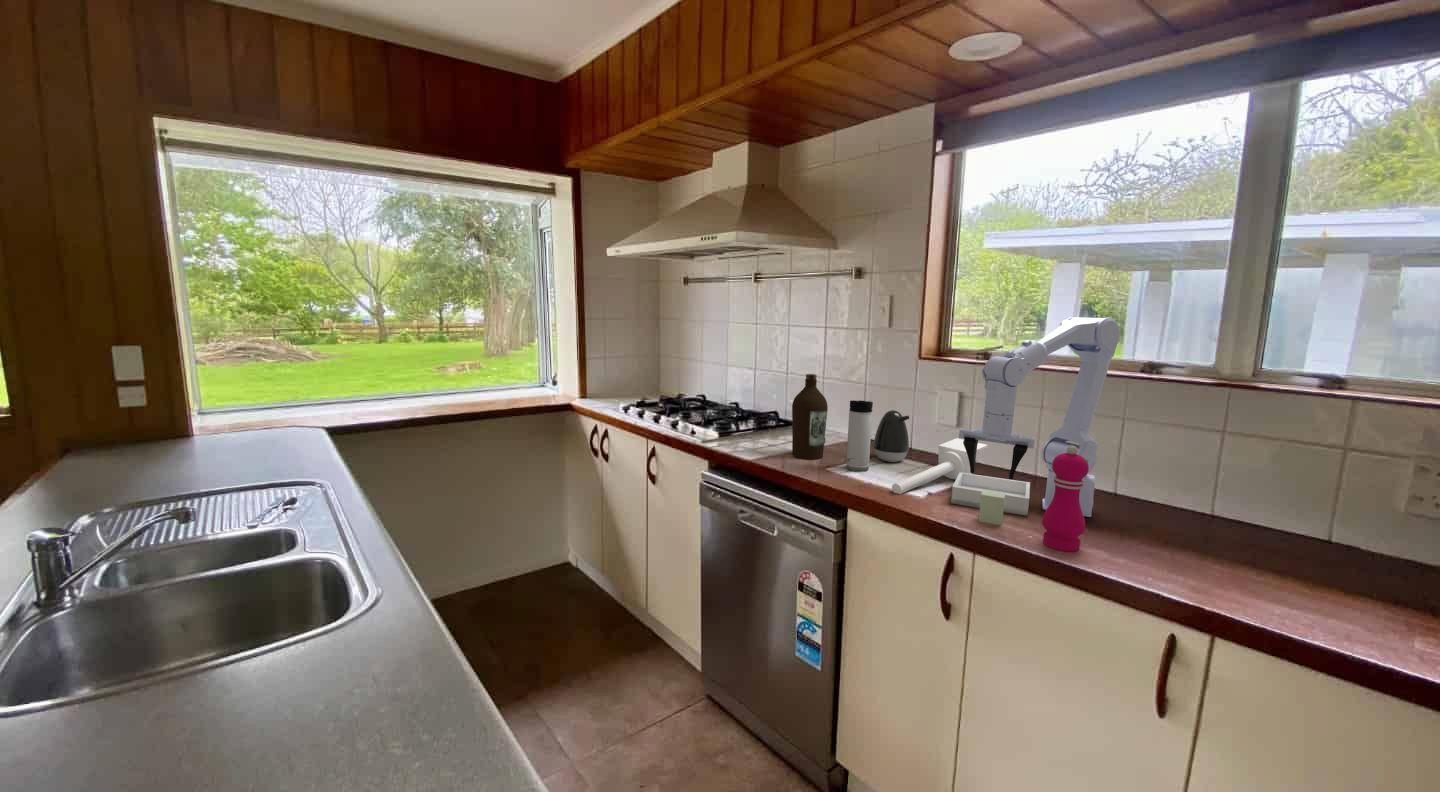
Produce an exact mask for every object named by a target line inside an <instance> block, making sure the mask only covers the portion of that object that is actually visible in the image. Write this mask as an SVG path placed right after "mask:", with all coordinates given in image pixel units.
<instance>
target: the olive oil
mask: <svg viewBox="0 0 1440 792" xmlns="http://www.w3.org/2000/svg"><path fill="white" fill-rule="evenodd" d="M817 380H818V379H817V374H815V373H814V374H813V373H807V374H805V379H804V381H805V383H804V387H803V389H801V391H799V392H798V394H796V396H795V397H794V399H793V401H792V404H791V405H792V406H791V421H792V424H791V425H792V427H791V429H792V431H791V432H792V435H791V437H792V440H791V442H792V446H791V447H792V449H791V451H792V452H791V454H792V457H794V458H797V459H801V460H819V459H822V458H823V457H824V451H825V444H826V428H827V427H826V426H827V419H828V401H827V399H826V397H825V396H824V395H823V394H822V392H821V391H820V390H819V389H818V388H817V382H818V381H817Z"/></svg>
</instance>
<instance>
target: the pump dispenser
mask: <svg viewBox="0 0 1440 792" xmlns="http://www.w3.org/2000/svg"><path fill="white" fill-rule="evenodd" d="M909 419H910V415H902V414H901V413H900V412H899V411H898V410H894V409H891V410H888V411H887V412H885V413H884V415H883V416H882V418H881V419H880V421H879V424H878V425H877V428H876V432H875V434H874V435H875V436H874V440H873V449H874V453H875V455H876V457H877V458H879V460H882V461H883V462H886V461H887V462H888V463H898V461H899V462H900V461H902V460H904V459H905V458H906V457H907V454H908V451H909V450H910V442H909V441H910V440H909V433H908V428H907V424H906V422H905V421H907V420H909Z"/></svg>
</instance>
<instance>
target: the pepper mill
mask: <svg viewBox="0 0 1440 792" xmlns="http://www.w3.org/2000/svg"><path fill="white" fill-rule="evenodd" d="M1077 451H1078V450H1077V448H1076V447H1075V446H1069V447H1068V448H1067V452H1068V453H1063V454H1060V455H1058V456H1056V457H1055V459H1054V460H1053V463H1052V469H1053V471H1054V473H1055V474H1056V476H1054V481H1053V483H1054V484H1055V493H1054V497H1053V500H1052V502H1051V503H1050V505H1049V506H1048V508H1047V509H1046V510H1044V514H1043V515H1042V520H1041V524H1042V527H1044V529H1045V532H1044V533H1043V536H1042V543H1043V544H1044V545H1045V546H1047V547H1049V548H1051V549H1054V550H1057V551H1062V552H1072V553H1073V552H1077V551H1080V548H1081V539H1080V538H1079V537H1081V536H1082V535H1083V533H1085V531H1086V519H1085V516H1083V513H1082V510H1081V507H1080V502H1079V494H1080V489H1082V488H1083V483H1084V481H1083V480H1082V479H1083V478H1084V477H1085V476H1086V475H1087V473H1088V470H1089V466H1088V463H1087V461H1086V460H1085V459H1084V458H1083V457H1082V456H1080V455H1077V454H1076V453H1077ZM1088 474H1089V473H1088Z"/></svg>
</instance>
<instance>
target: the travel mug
mask: <svg viewBox="0 0 1440 792" xmlns="http://www.w3.org/2000/svg"><path fill="white" fill-rule="evenodd" d="M848 412H849V413H848V427H847V441H846V442H847V443H846V444H847V445H846V447H847V448H846V462H845V463H846V464H845V467H846V469H847V470H849V471H851V470H852V472H862V471H863V472H868V471H869V469H870V457H871V455H870V454H871V439H872V437H871V436H872V422H873V401H870V400H868V401H867V400H860V399H859V400H849V410H848ZM863 472H862V473H863Z"/></svg>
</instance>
